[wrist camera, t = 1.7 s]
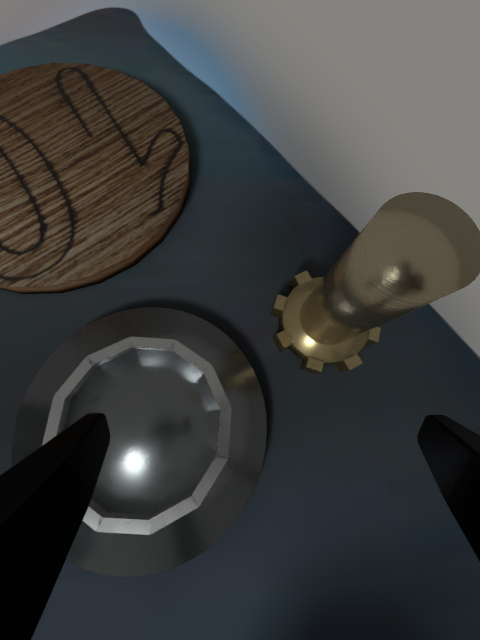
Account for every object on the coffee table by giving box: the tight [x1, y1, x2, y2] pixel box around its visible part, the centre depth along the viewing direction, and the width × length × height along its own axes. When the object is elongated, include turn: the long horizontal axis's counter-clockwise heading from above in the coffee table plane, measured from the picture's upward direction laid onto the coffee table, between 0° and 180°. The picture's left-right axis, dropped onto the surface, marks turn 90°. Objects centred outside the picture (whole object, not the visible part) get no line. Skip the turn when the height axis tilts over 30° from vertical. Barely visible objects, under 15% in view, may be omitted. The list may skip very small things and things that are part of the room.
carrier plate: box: [12, 307, 267, 577], centre depth 19 cm, size 18×18×2 cm
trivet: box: [0, 63, 191, 294], centre depth 25 cm, size 25×25×2 cm
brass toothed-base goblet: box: [271, 192, 480, 374], centre depth 17 cm, size 8×8×13 cm
